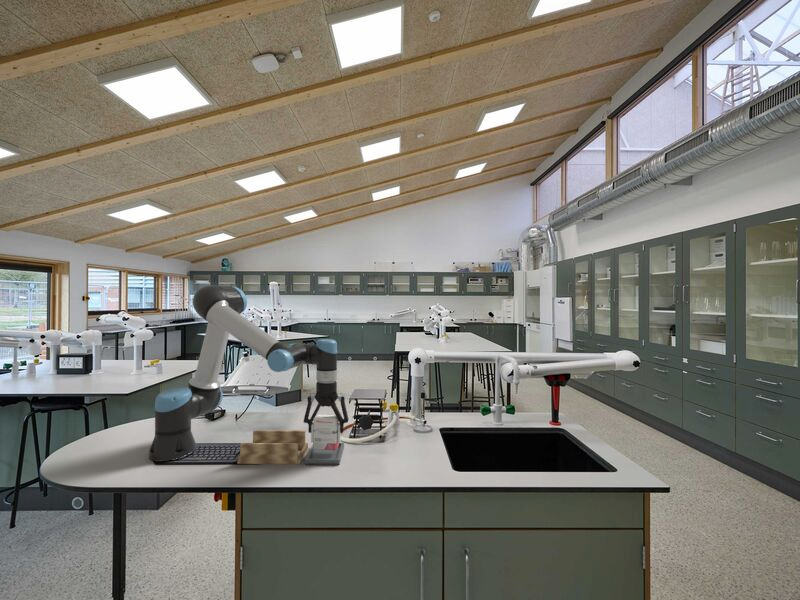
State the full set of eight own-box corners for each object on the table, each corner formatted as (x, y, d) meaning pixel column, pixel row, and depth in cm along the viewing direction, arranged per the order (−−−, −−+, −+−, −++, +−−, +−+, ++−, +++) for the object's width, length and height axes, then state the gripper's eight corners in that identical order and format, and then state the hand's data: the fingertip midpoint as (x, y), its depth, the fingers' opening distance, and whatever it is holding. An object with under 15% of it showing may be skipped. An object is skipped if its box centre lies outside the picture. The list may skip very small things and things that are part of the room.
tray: (305, 465, 136) (305, 460, 136) (313, 447, 152) (313, 442, 152) (339, 464, 137) (339, 459, 137) (344, 447, 153) (344, 442, 153)
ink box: (339, 445, 146) (339, 414, 146) (335, 451, 141) (335, 418, 141) (317, 444, 147) (317, 413, 147) (312, 449, 142) (313, 417, 142)
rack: (237, 463, 136) (237, 444, 136) (251, 448, 150) (251, 430, 150) (300, 463, 137) (300, 444, 137) (307, 448, 151) (308, 430, 151)
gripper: (294, 383, 140) (294, 445, 140) (355, 383, 141) (354, 444, 141) (299, 378, 147) (298, 437, 148) (356, 379, 148) (356, 437, 148)
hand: (326, 441), depth 144 cm, fingers closed on ink box, 9 cm apart
